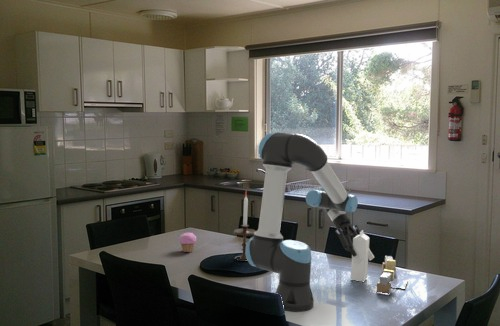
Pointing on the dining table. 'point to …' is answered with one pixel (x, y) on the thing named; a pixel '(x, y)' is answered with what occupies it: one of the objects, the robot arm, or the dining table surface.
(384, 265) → the shaft rig
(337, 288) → the dining table surface
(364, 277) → the milk
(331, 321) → the dining table surface
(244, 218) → the candlestick
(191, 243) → the cupcake
